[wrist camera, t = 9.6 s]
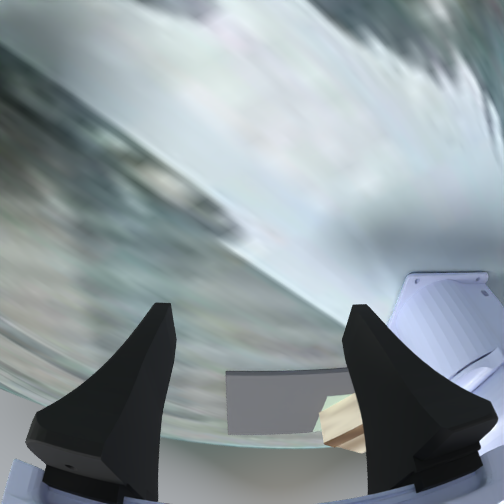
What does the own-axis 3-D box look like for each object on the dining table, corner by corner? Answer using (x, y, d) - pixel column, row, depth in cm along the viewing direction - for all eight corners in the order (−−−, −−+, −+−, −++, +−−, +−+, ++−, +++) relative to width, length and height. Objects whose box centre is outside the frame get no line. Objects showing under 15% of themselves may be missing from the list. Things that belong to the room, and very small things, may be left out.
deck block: (388, 409, 34) (396, 437, 30) (355, 427, 36) (362, 454, 32) (354, 392, 31) (363, 425, 27) (318, 412, 33) (324, 444, 29)
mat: (418, 360, 29) (419, 364, 29) (379, 420, 36) (380, 423, 36) (225, 371, 29) (225, 375, 28) (228, 431, 35) (228, 434, 35)
